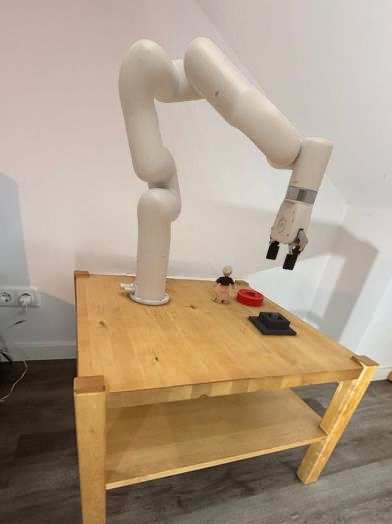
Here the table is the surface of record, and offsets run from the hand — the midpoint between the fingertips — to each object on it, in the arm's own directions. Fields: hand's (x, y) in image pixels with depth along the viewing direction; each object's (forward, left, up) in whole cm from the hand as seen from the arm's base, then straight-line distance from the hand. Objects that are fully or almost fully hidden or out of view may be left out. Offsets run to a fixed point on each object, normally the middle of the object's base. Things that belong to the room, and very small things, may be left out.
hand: (278, 264), depth 84 cm
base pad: (+2, -2, -19) cm, 19 cm away
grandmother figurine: (-8, +17, -19) cm, 26 cm away
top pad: (+3, -2, -18) cm, 18 cm away
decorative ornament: (+4, +19, -19) cm, 27 cm away
